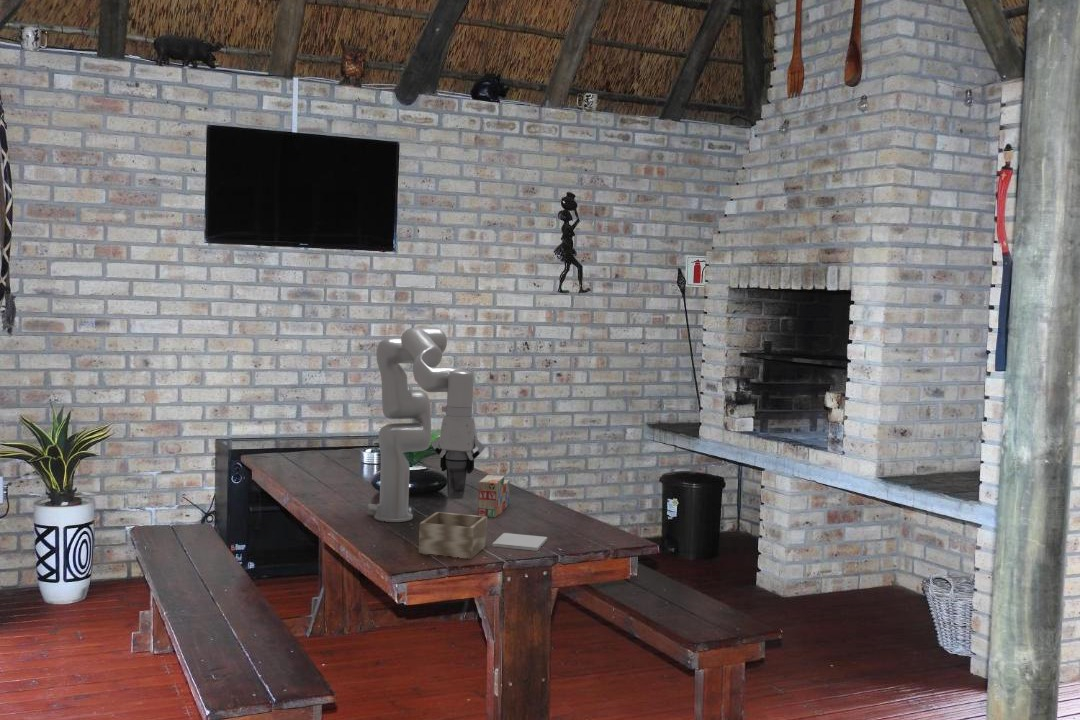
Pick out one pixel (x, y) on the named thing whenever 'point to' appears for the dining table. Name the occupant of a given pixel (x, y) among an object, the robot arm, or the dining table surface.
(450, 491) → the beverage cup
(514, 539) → the tile
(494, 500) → the stack of blocks
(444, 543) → the crate
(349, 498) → the dining table surface
